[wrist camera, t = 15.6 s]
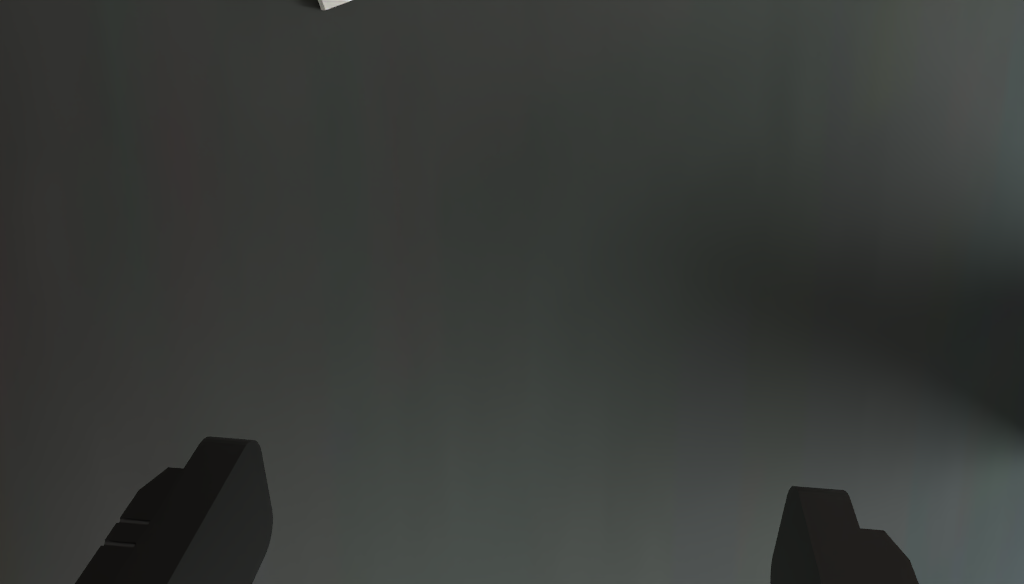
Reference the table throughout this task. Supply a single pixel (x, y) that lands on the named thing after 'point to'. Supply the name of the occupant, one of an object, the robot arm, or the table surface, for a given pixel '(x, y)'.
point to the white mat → (331, 3)
